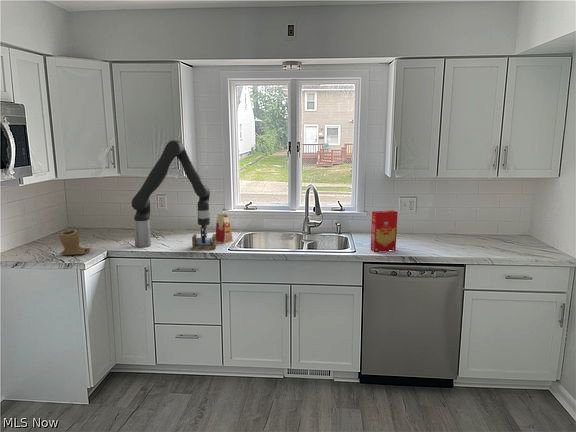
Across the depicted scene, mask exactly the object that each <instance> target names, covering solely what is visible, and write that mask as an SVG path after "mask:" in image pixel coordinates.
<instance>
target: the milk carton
mask: <svg viewBox="0 0 576 432" xmlns="http://www.w3.org/2000/svg"><path fill="white" fill-rule="evenodd" d="M229 217H230V216H228V215H227V213H226V212H225V213H221V214H220V213H219V214H217V218H216V223H215V234H216V244H218V243H219V244H223V245H225V244H228V243H233V242H234V239H233V233H232V227H231V222H230V218H229Z"/></svg>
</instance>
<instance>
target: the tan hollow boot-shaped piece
mask: <svg viewBox="0 0 576 432" xmlns="http://www.w3.org/2000/svg"><path fill="white" fill-rule="evenodd" d="M59 239H60V243H61V244H62V246H63V248H64V249H63V250H62V251H61V252H60V255H63V256H76V255H77V256H78V255H79V256H80V255H86V254H88V253H89V252H90V251H91V248H90V247H80V234H79V231H78V230H76V229H69V230H64V231H62V232H61V233H59Z"/></svg>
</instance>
